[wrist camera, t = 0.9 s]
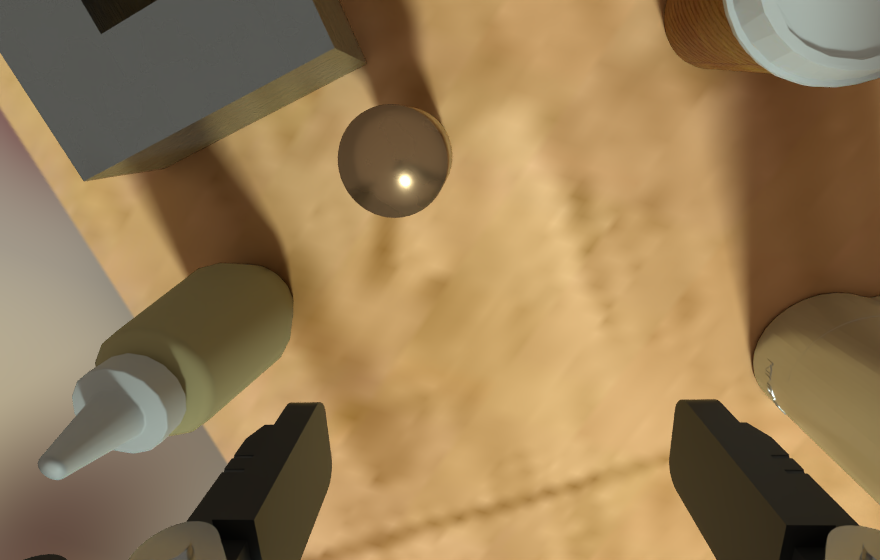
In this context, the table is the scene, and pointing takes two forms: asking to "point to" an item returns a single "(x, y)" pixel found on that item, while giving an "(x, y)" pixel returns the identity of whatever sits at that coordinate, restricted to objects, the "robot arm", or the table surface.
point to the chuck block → (167, 70)
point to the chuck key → (394, 159)
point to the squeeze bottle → (176, 364)
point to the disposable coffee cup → (780, 38)
